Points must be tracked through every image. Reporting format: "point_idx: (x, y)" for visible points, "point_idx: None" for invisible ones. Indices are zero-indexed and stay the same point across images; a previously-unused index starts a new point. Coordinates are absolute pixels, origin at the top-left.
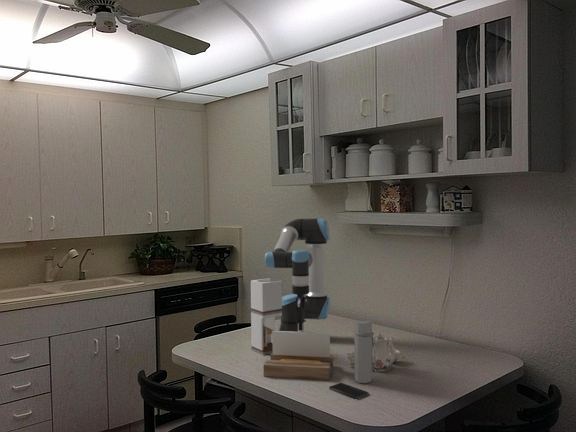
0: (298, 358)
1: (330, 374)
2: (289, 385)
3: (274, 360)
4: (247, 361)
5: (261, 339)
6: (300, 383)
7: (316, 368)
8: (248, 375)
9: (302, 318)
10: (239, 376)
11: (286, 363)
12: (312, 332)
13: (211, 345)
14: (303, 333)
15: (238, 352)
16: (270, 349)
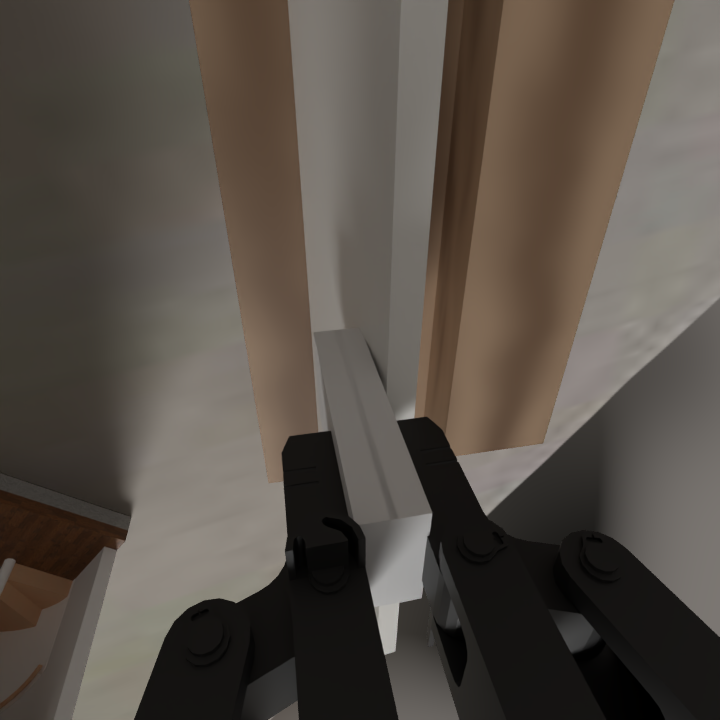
0: None
1: None
2: (672, 219)
3: (457, 415)
4: (280, 535)
5: (95, 626)
6: (654, 151)
7: (660, 19)
8: (493, 460)
9: (675, 648)
10: (506, 485)
11: (525, 324)
12: (402, 212)
13: (93, 716)
14: (411, 363)
15: (144, 614)
16: (62, 520)
